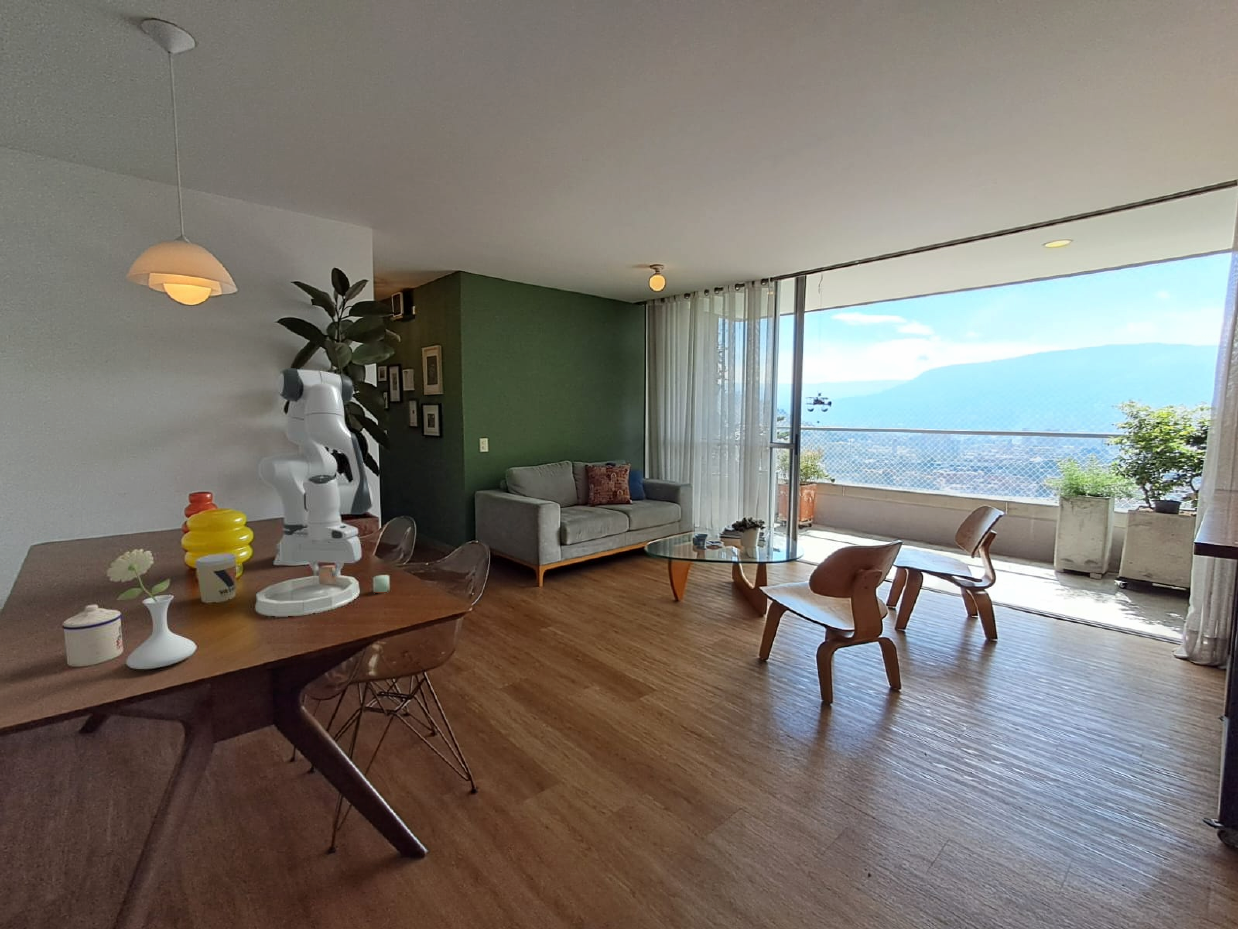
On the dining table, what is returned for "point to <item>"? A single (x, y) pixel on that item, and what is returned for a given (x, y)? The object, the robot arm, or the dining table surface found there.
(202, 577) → the coffee cup
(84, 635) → the teacup with lid
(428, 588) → the dining table surface
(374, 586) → the sage bead
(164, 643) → the flower in vase
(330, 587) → the groove tray
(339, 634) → the dining table surface
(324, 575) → the terracotta bead
